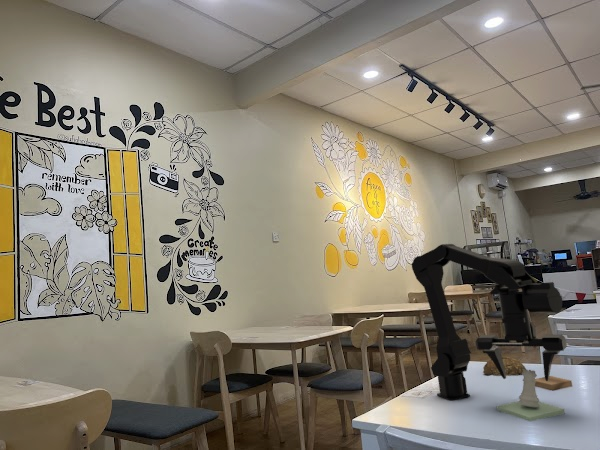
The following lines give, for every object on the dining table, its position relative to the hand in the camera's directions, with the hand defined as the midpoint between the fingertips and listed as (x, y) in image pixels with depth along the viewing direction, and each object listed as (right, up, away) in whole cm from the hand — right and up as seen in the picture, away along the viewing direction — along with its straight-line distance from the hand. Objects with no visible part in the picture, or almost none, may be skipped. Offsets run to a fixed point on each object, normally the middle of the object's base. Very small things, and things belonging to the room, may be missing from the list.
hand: (525, 379), depth 104 cm
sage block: (+1, -8, -1) cm, 8 cm away
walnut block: (+17, -9, +18) cm, 27 cm away
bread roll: (+13, -12, +39) cm, 43 cm away
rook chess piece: (0, -6, -1) cm, 6 cm away
